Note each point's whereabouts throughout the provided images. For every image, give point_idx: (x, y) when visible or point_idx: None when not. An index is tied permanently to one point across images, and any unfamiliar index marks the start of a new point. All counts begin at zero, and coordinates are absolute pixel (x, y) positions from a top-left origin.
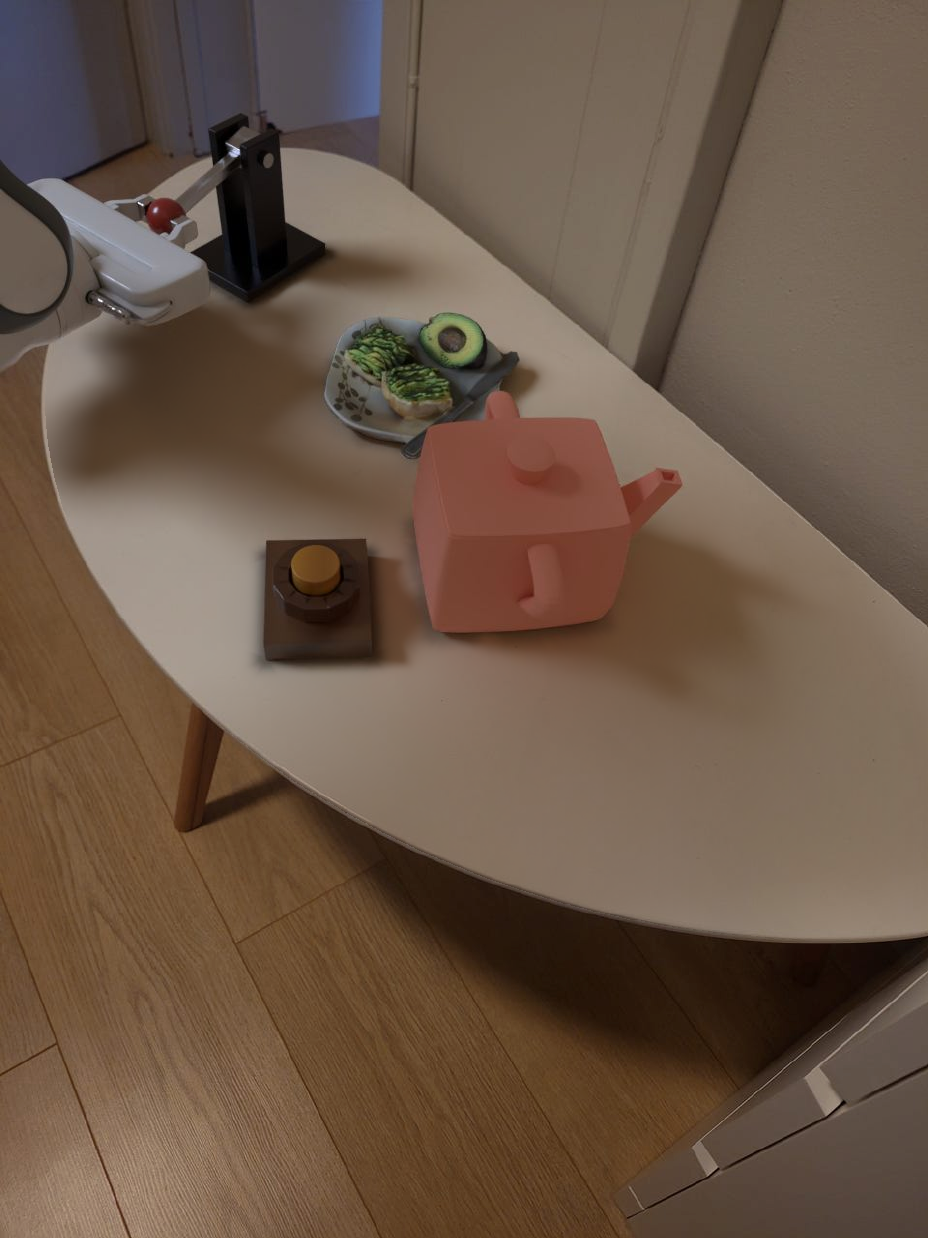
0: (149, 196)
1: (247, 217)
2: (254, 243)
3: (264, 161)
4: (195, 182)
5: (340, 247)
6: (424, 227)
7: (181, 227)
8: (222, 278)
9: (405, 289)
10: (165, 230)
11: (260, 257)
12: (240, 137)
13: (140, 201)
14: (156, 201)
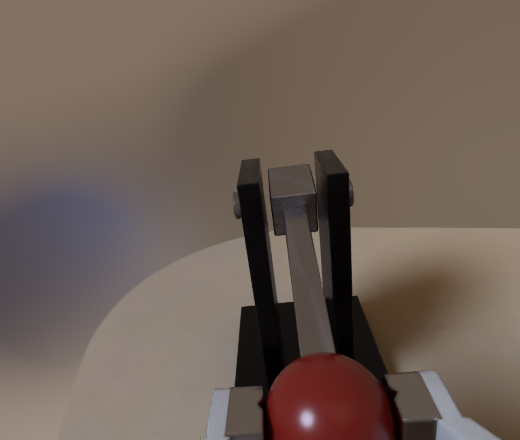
0: (234, 389)
1: (335, 309)
2: (349, 346)
3: (353, 193)
4: (294, 286)
5: (355, 293)
6: (375, 236)
7: (469, 419)
8: None
9: (484, 288)
10: None
11: None
12: (287, 180)
13: (236, 425)
14: (307, 390)
